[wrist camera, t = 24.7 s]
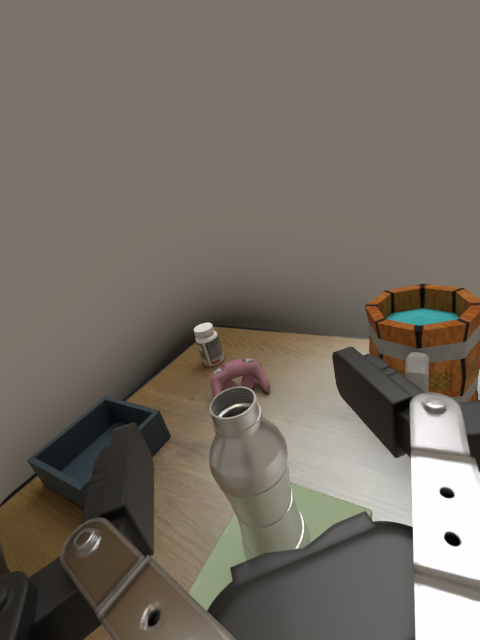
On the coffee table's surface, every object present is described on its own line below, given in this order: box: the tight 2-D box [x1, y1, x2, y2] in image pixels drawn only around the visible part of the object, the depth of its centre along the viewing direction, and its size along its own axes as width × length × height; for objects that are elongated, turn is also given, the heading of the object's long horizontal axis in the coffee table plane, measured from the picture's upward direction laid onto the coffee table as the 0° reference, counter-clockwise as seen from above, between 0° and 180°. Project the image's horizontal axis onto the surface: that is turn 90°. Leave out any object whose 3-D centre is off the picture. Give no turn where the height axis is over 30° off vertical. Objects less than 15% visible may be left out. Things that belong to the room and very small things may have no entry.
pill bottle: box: [194, 323, 224, 366], centre depth 70 cm, size 5×5×8 cm
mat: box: [189, 483, 372, 611], centre depth 34 cm, size 16×14×1 cm
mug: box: [365, 284, 480, 403], centre depth 43 cm, size 20×14×15 cm
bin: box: [27, 396, 171, 509], centre depth 51 cm, size 15×14×6 cm
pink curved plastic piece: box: [210, 359, 270, 398], centre depth 59 cm, size 10×5×7 cm, turn 104°
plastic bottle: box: [210, 387, 311, 561], centre depth 29 cm, size 6×7×20 cm
